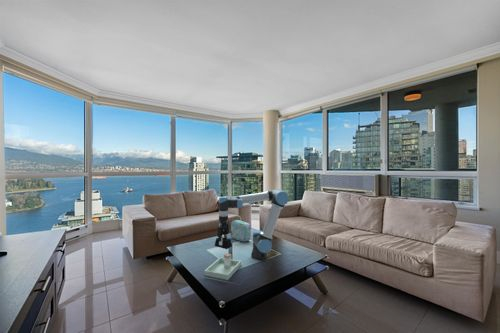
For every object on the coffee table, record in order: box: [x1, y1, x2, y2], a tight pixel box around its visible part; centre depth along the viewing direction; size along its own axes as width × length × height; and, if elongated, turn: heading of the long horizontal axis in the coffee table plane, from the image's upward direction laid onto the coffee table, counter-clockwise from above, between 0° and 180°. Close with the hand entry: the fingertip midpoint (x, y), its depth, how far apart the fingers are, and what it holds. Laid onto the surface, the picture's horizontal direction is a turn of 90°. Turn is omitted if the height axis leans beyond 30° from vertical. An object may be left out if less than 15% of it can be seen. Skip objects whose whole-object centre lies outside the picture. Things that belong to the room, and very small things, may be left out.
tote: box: [203, 257, 242, 282], centre depth 166 cm, size 20×24×4 cm
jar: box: [223, 253, 233, 268], centre depth 173 cm, size 6×6×9 cm
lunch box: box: [230, 219, 252, 243], centre depth 238 cm, size 27×10×21 cm, turn 45°
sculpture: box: [214, 228, 233, 250], centre depth 173 cm, size 8×13×15 cm, turn 55°
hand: (223, 243), depth 172 cm, fingers closed on sculpture, 7 cm apart
